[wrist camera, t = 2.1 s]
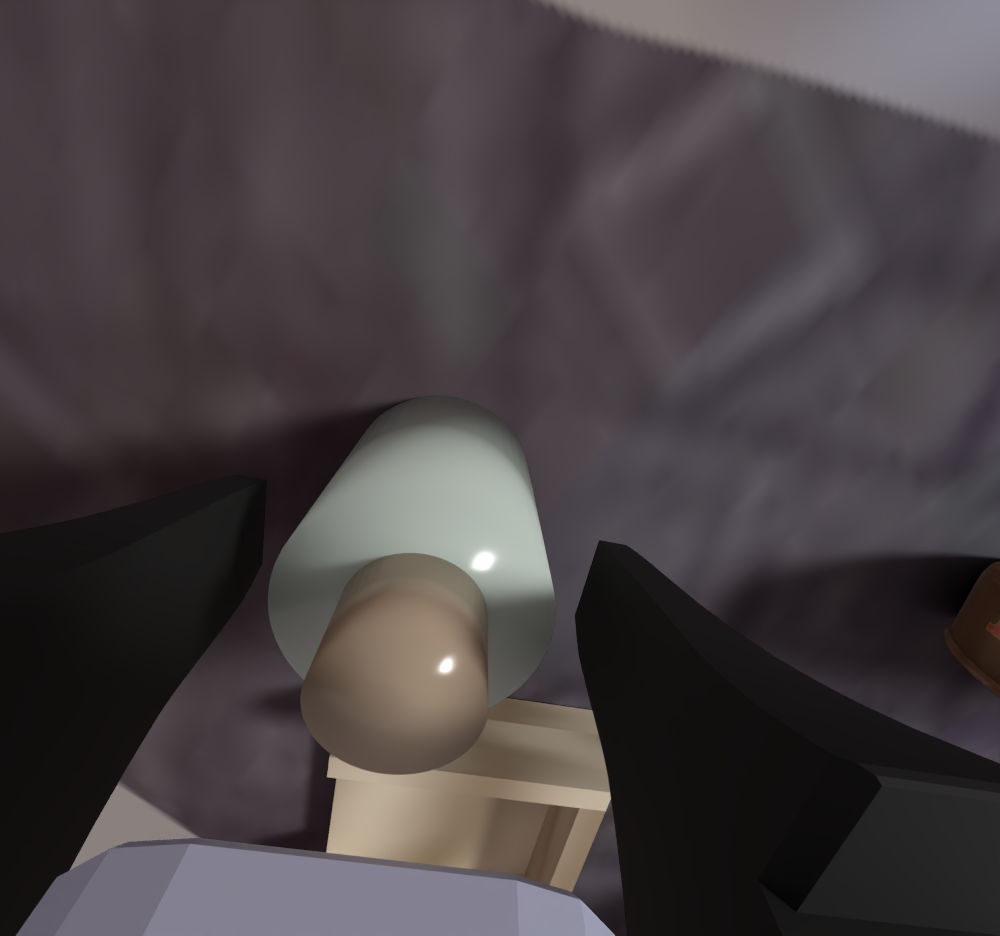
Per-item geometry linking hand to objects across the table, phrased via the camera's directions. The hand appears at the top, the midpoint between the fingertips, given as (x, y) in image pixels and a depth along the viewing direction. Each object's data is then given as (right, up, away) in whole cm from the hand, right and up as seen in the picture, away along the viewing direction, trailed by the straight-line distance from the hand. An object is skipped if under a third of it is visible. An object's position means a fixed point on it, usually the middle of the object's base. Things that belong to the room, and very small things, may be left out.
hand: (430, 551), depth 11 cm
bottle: (0, +1, +4) cm, 4 cm away
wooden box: (0, -10, +8) cm, 12 cm away
